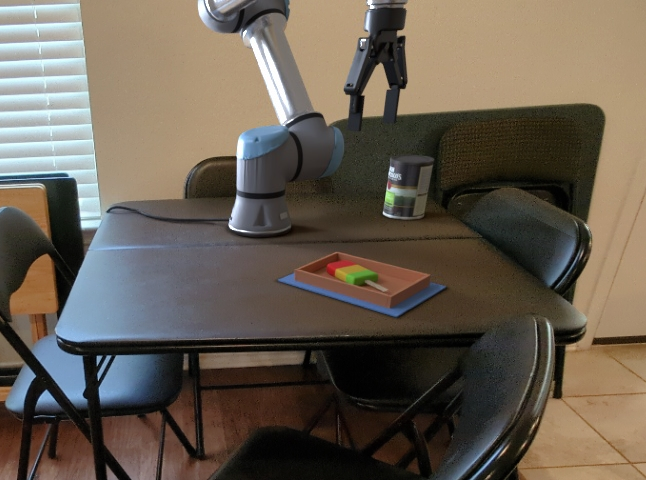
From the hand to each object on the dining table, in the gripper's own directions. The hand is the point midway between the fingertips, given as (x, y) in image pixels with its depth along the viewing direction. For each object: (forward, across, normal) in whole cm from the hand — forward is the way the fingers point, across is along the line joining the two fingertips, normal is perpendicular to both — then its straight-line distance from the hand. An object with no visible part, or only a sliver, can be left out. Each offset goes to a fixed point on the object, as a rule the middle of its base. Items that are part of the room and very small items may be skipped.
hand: (372, 127), depth 121 cm
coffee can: (+25, +28, +4) cm, 38 cm away
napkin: (+25, -22, -14) cm, 36 cm away
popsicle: (+24, -22, -14) cm, 36 cm away
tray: (+25, -22, -14) cm, 36 cm away
